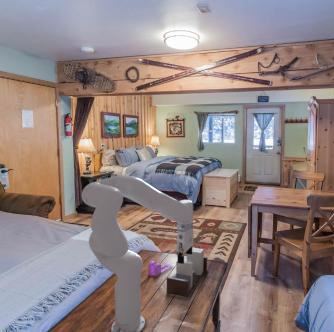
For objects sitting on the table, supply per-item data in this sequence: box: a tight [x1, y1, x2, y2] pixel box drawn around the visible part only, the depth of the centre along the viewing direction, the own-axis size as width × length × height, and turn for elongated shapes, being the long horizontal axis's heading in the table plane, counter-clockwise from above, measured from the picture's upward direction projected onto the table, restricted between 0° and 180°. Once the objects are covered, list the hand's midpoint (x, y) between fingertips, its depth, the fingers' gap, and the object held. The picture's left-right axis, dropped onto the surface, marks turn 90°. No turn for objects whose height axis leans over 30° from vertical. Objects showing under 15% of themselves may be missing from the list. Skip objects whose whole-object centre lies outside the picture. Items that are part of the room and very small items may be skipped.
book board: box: [166, 255, 208, 298], centre depth 140 cm, size 26×11×9 cm, turn 166°
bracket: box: [148, 260, 172, 277], centre depth 151 cm, size 13×6×7 cm, turn 149°
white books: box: [186, 247, 205, 275], centre depth 148 cm, size 4×8×13 cm, turn 76°
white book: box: [175, 259, 193, 288], centre depth 135 cm, size 2×8×13 cm, turn 76°
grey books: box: [171, 270, 196, 291], centre depth 134 cm, size 10×9×7 cm
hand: (185, 258), depth 134 cm, fingers open, 9 cm apart
